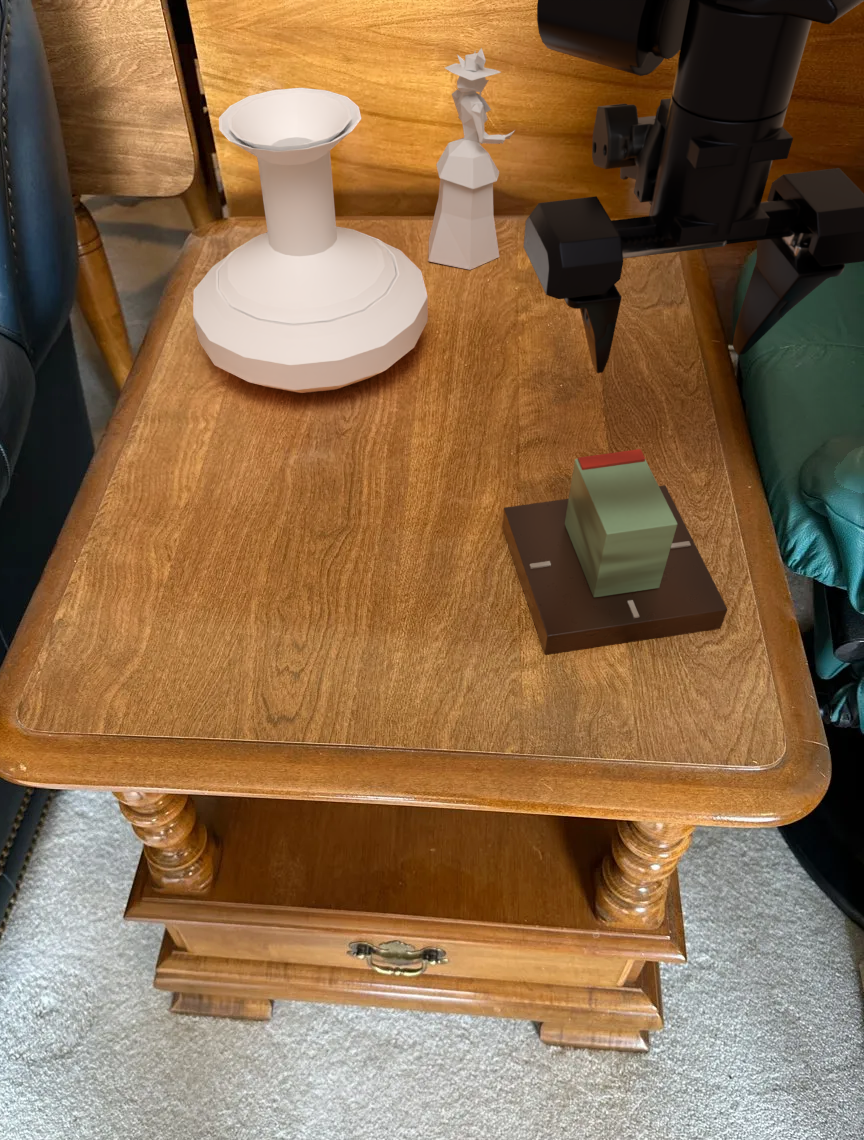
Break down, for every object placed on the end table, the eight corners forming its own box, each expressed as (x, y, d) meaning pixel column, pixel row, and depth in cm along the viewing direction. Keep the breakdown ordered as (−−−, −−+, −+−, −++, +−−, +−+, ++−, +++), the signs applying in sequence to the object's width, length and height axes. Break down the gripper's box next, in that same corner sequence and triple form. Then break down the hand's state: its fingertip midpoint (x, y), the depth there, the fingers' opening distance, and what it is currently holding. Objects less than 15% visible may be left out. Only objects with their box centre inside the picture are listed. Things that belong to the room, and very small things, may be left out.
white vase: (418, 423, 77) (416, 187, 62) (178, 414, 79) (119, 183, 64) (435, 286, 90) (436, 61, 75) (227, 281, 92) (187, 61, 76)
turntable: (660, 504, 71) (666, 483, 69) (720, 628, 63) (728, 607, 62) (501, 527, 70) (503, 505, 68) (544, 655, 62) (547, 634, 61)
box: (659, 588, 63) (679, 520, 58) (593, 598, 63) (607, 531, 58) (626, 515, 67) (641, 446, 62) (564, 524, 67) (574, 455, 62)
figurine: (516, 248, 93) (532, 44, 79) (453, 278, 90) (458, 72, 76) (469, 221, 97) (477, 21, 83) (407, 248, 94) (403, 46, 80)
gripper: (834, 18, 54) (758, 273, 66) (510, 53, 52) (494, 306, 65) (936, 103, 47) (830, 370, 59) (566, 145, 45) (536, 409, 58)
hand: (668, 359), depth 60 cm, fingers open, 9 cm apart
